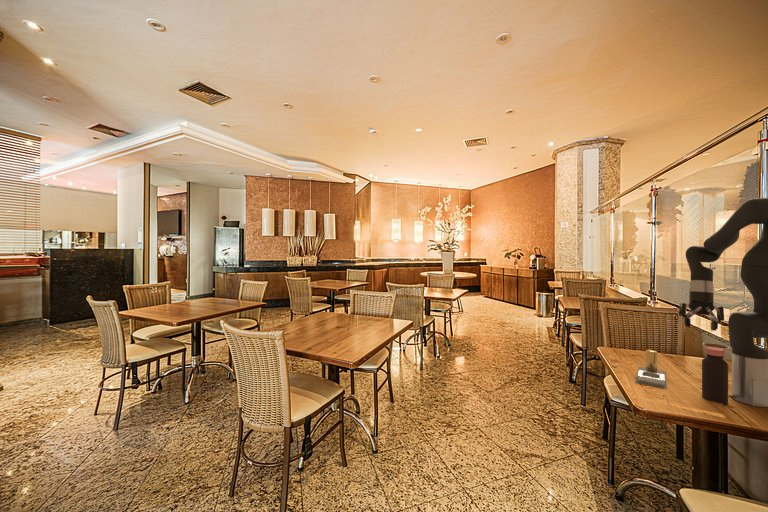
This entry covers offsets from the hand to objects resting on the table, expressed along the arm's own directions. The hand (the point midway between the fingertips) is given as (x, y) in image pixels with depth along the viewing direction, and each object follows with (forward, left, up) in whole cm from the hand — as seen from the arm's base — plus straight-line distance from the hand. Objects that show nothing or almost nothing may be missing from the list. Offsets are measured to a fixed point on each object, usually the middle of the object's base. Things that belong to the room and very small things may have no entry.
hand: (700, 328), depth 138 cm
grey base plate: (-1, +20, -23) cm, 30 cm away
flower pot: (+25, -25, -23) cm, 42 cm away
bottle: (-21, +10, -23) cm, 33 cm away
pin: (+4, +17, -22) cm, 28 cm away
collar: (-5, +22, -22) cm, 32 cm away
